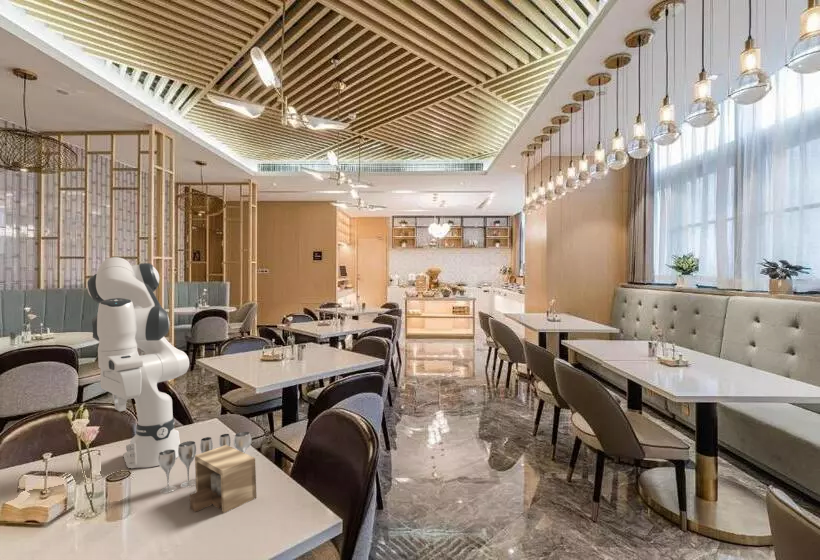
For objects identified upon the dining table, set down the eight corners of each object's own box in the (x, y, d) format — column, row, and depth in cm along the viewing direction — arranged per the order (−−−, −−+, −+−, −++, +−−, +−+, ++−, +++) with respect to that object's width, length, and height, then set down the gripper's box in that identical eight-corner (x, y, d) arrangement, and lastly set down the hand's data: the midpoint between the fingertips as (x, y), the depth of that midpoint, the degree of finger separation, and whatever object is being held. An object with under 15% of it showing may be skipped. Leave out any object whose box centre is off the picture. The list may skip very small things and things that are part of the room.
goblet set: (160, 496, 131) (159, 453, 131) (158, 488, 136) (157, 447, 136) (254, 469, 148) (253, 431, 147) (249, 463, 152) (248, 426, 152)
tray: (184, 504, 126) (183, 483, 126) (225, 487, 136) (224, 467, 136) (201, 516, 119) (201, 494, 119) (243, 498, 129) (243, 477, 129)
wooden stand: (196, 494, 131) (194, 455, 131) (227, 481, 139) (226, 444, 139) (224, 513, 121) (222, 470, 120) (256, 498, 128) (255, 458, 128)
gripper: (92, 357, 120) (94, 406, 120) (117, 365, 107) (119, 420, 107) (118, 353, 125) (120, 400, 125) (145, 360, 112) (147, 413, 112)
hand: (120, 410), depth 116 cm, fingers closed
